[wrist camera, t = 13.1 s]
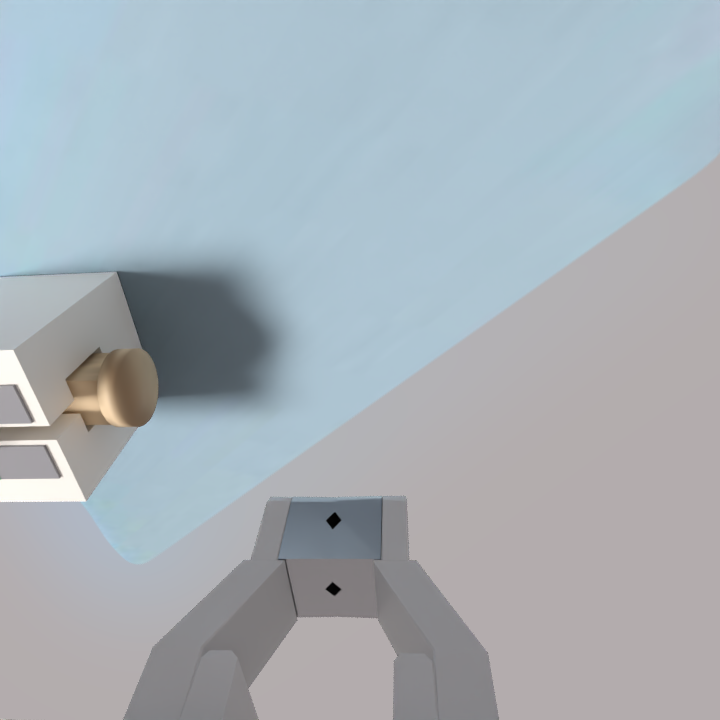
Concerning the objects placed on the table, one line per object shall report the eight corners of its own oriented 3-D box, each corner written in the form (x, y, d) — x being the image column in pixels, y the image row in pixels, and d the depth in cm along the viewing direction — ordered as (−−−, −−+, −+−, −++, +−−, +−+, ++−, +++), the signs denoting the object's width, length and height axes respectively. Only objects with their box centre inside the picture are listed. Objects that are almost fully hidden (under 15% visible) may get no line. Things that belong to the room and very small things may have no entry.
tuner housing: (116, 271, 42) (9, 352, 30) (158, 397, 49) (84, 504, 37) (-6, 277, 43) (-156, 357, 31) (51, 400, 49) (-54, 505, 38)
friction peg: (145, 334, 39) (54, 434, 29) (165, 397, 42) (89, 508, 32) (-4, 339, 40) (-145, 437, 30) (26, 400, 43) (-92, 508, 33)
